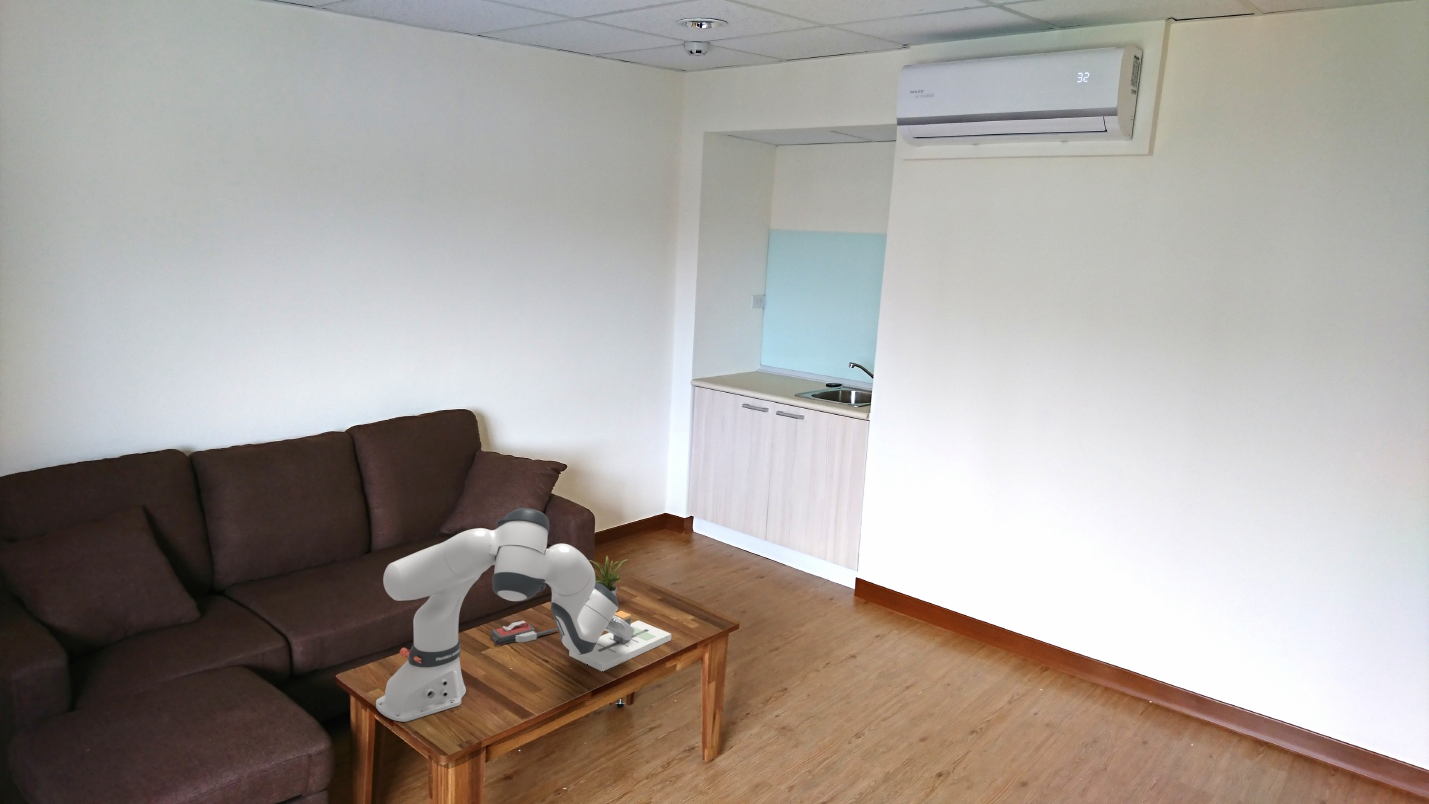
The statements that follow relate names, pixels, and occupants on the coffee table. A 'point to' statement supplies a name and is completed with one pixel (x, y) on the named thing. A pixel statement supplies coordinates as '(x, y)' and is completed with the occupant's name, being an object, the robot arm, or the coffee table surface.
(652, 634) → the console
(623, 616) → the fader knob
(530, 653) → the coffee table surface
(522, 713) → the coffee table surface
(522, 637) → the red and grey tool
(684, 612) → the coffee table surface
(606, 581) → the house plant
